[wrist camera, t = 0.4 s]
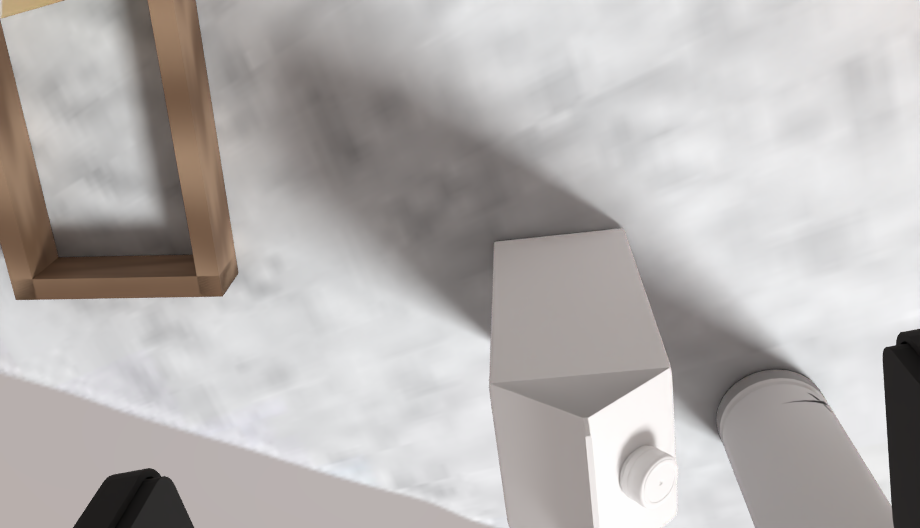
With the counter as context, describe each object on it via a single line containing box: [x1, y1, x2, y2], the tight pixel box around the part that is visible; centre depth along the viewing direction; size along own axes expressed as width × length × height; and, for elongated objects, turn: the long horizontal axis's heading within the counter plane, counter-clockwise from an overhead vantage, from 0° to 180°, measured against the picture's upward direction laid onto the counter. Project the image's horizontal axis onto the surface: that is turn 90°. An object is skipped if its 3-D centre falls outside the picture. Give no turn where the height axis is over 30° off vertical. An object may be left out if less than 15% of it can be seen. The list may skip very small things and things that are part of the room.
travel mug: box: [716, 370, 894, 528], centre depth 42 cm, size 6×7×20 cm
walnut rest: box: [0, 0, 238, 300], centre depth 44 cm, size 22×11×3 cm, turn 2°
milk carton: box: [489, 228, 678, 528], centre depth 40 cm, size 7×7×19 cm
